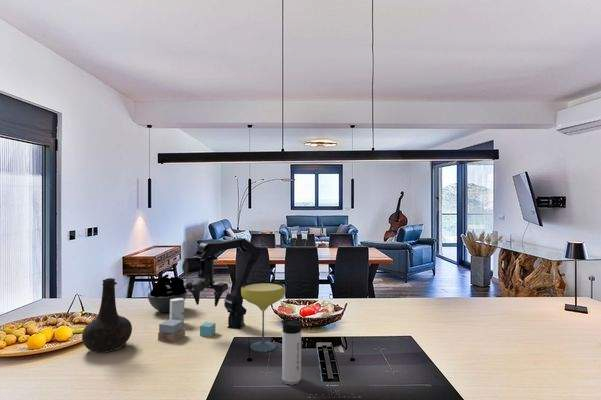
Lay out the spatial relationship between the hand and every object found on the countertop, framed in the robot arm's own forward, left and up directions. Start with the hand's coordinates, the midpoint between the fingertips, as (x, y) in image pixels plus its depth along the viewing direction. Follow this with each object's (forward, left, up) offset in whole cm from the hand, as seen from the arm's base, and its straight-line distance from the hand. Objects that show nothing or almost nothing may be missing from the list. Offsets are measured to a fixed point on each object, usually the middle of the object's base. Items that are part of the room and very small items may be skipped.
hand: (206, 305), depth 164 cm
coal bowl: (+38, -25, -13) cm, 47 cm away
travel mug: (-48, +31, -13) cm, 59 cm away
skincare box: (+21, -8, -13) cm, 26 cm away
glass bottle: (+31, +25, -13) cm, 41 cm away
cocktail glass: (-29, +7, -13) cm, 33 cm away
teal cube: (0, 0, -13) cm, 13 cm away
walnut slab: (+13, +8, -13) cm, 20 cm away
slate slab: (+13, +8, -10) cm, 18 cm away
